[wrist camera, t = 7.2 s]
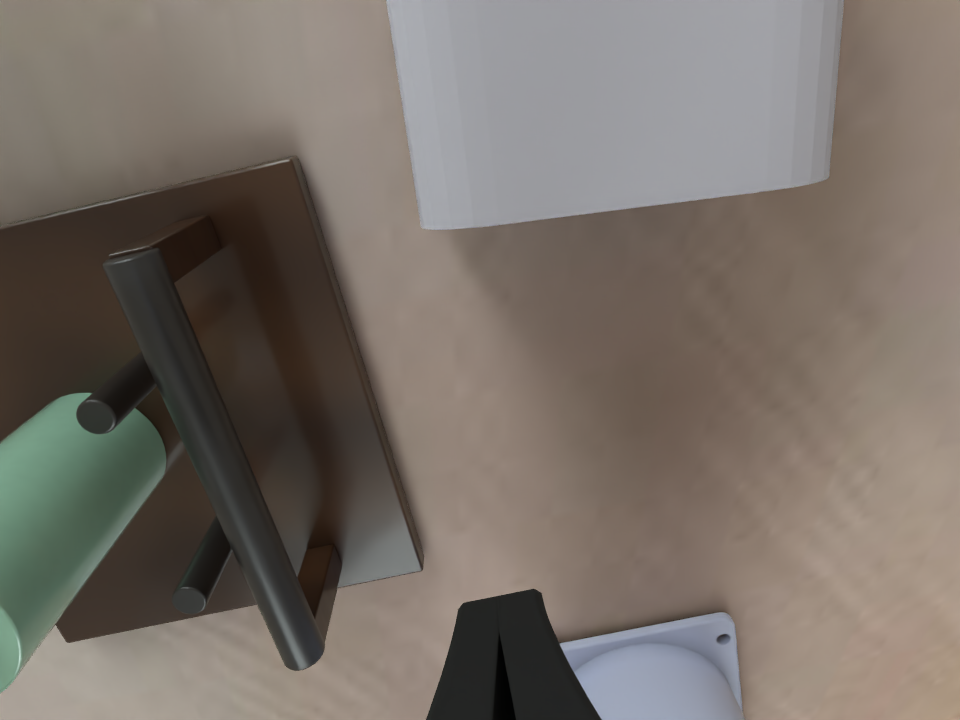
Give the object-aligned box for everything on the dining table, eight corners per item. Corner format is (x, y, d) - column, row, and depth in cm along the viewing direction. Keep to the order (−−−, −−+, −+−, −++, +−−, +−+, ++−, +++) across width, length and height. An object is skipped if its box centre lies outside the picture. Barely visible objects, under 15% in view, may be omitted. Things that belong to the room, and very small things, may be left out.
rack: (424, 556, 23) (417, 681, 18) (78, 627, 24) (-18, 766, 19) (297, 154, 18) (239, 180, 13) (-145, 259, 19) (-361, 321, 14)
